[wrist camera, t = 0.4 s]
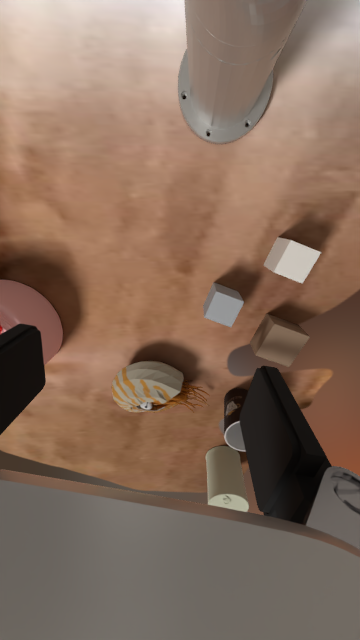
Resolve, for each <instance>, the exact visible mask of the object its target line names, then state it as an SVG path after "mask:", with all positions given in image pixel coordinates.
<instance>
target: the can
mask: <svg viewBox="0 0 360 640" xmlns="http://www.w3.org/2000/svg"><path fill="white" fill-rule="evenodd" d="M206 463H207V484H208V505H212V506H218V507H223V508H228V509H233V510H239V511H244V512H247V510H248V508H249V504H248V500H247V495H246V490H245V485H244V480H243V474H242V468H241V462H240V455H239V453H238V452H237V451H236V450H235V449H233V448H231V447H228V446H217V447H214V448H212V449H210V450H209V451H208V452H207V454H206Z"/></svg>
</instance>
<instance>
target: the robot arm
mask: <svg viewBox="0 0 360 640" xmlns="http://www.w3.org/2000/svg"><path fill="white" fill-rule="evenodd" d="M306 2H307V0H185V17H186V36H187V49H186V51H185V53H184V56H183V59H182V62H181V65H180V70H179V76H178V96H179V103H180V108H181V111H182V114H183V117H184V119H185V121H186V123H187V124H188V126H189V127H190V129H191V130H192V131H193V132H194V133H195V134H196V135H197V136H198V137H200V138H201V139H203V140H205V141H207V142H209V143H214V144H227V143H231V142H234V141H236V140H238V139H240V138H242V137H243V136H244V135H246V134H247V133H248V132H249V131H250V130H251V129H252V128H253V127H254V126H255V125H256V123H257V122H258V120H259V119H260V117H261V116H262V114H263V112H264V110H265V108H266V106H267V103H268V101H269V98H270V94H271V90H272V84H273V67H274V65H275V63H276V61H277V59H278V57H279V55H280V53H281V51H282V49H283V47H284V45H285V43H286V41H287V39H288V37H289V35H290V33H291V31H292V29H293V27H294V25H295V23H296V22H297V20H298V18H299V16H300V14H301V12H302V10H303V8H304V6H305V4H306ZM184 96H186V99H183V97H184ZM245 124H248V127H245ZM207 133H209V134H210V136H209V137H208V136H207ZM45 381H46V380H45V369H44V359H43V349H42V339H41V332H40V331H39V330H38V329H37V327H36V326H33V325H27V324H18V325H16V326H14V327H12V328H11V329H9V330H7V331H6V332H4V333H2V334H0V435H1V434H2V433H3V431H4V430H5V429H6V428H7V427H8V426H9V425H10V424H11V423H12V422H13V421H14V419H15V418H16V417H17V416H18V415H19V414H20V413H21V412H22V411H23V410H24V409H25V407H26V406H27V405H28V404H29V403H30V402H31V401H32V400H33V399H34V398H35V397H36V395H37V394H38V393H39V392H40V391H41V390H42V389H43V387H44V385H45ZM239 422H240V427H241V432H242V436H243V441H244V445H245V450H246V455H247V459H248V464H249V468H250V473H251V477H252V482H253V487H254V491H255V496H256V500H257V505H258V508H259V510H260V511H262V512H264V515H259V514H254V513H249V512H244V511H239V510H233V509H228V508H223V507H218V506H212V505H206V504H200V503H195V502H189V501H184V500H178V499H172V498H167V497H161V496H155V495H149V494H144V493H138V492H133V491H127V490H121V489H115V488H109V487H103V486H98V485H92V484H86V483H80V482H74V481H68V480H62V479H56V478H50V477H44V476H38V475H32V474H26V473H20V472H14V471H8V470H2V469H0V640H360V477H359V476H358V475H357V474H355V473H353V472H351V471H349V470H347V469H345V468H342V467H336V466H331V464H330V463H329V461H328V459H327V457H326V455H325V453H324V451H323V449H322V448H321V446H320V444H319V442H318V440H317V439H316V437H315V435H314V433H313V431H312V430H311V428H310V426H309V424H308V422H307V421H306V419H305V417H304V415H303V413H302V412H301V410H300V408H299V406H298V404H297V403H296V401H295V399H294V397H293V395H292V394H291V392H290V390H289V388H288V386H287V385H286V383H285V381H284V379H283V377H282V376H281V374H280V372H279V370H278V369H277V368H274V367H268V366H262V367H261V368H257V369H256V372H255V374H254V377H253V380H252V383H251V385H250V388H249V391H248V394H247V396H246V399H245V402H244V405H243V408H242V410H241V413H240V418H239Z"/></svg>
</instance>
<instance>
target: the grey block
mask: <svg viewBox="0 0 360 640" xmlns="http://www.w3.org/2000/svg"><path fill="white" fill-rule="evenodd" d="M243 303H244V301H243V299H242V297H241V296H240V294H239V292H238V291H235V290H233V289H230V288H227V287H225V286H222V285H220V284H217V283H214V282H213V285H212V287H211V289H210V292H209V294H208V296H207V298H206V301H205V303H204V305H203V308H204V318H207V319H210V320H212V321H215V322H218V323H221V324H223V325H226V326H229V327H232V325H233V323H234V321H235V319H236V317H237V315H238V313H239V311H240V309H241V307H242V305H243Z"/></svg>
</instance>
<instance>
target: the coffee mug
mask: <svg viewBox="0 0 360 640" xmlns="http://www.w3.org/2000/svg"><path fill="white" fill-rule="evenodd" d="M247 394H248V391H247V390H245V389H242V388H236V389H232V390H230V391H229V392H228V393H227V394H226V395H225V398H224V437H225V441H226V443H227V444H228V445H229V446H230V447H231V448H233V449H235V450H238V451H245V452H246V450H245V445H244V441H243V436H242V432H241V427H240V422H239V418H240V413H241V410H242V408H243V405H244V402H245V399H246V396H247Z"/></svg>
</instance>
